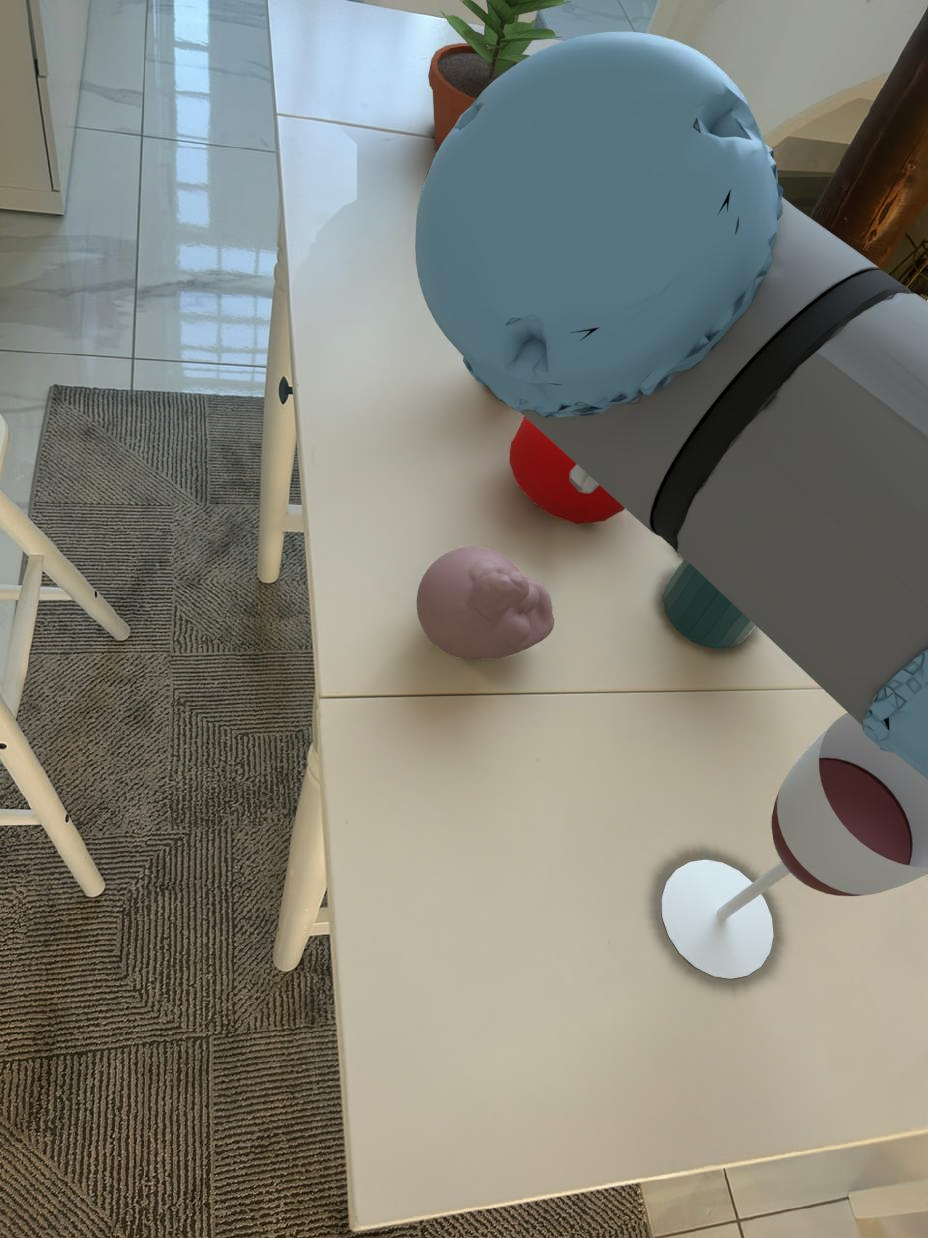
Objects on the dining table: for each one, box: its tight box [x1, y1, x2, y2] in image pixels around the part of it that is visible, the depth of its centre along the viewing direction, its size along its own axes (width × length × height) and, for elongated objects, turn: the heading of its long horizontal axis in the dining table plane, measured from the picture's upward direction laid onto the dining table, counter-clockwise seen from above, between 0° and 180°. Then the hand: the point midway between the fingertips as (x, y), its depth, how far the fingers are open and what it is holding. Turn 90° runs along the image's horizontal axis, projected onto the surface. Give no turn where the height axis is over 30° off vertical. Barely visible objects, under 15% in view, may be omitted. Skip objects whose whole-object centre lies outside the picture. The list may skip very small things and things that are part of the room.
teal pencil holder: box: [662, 557, 757, 650], centre depth 83 cm, size 8×8×11 cm
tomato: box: [509, 416, 626, 525], centre depth 88 cm, size 13×12×11 cm
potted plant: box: [428, 0, 573, 149], centre depth 111 cm, size 15×15×30 cm
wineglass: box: [661, 712, 928, 980], centre depth 62 cm, size 9×10×23 cm
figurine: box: [416, 546, 555, 661], centre depth 76 cm, size 9×11×12 cm
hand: (750, 524), depth 53 cm, fingers open, 13 cm apart
